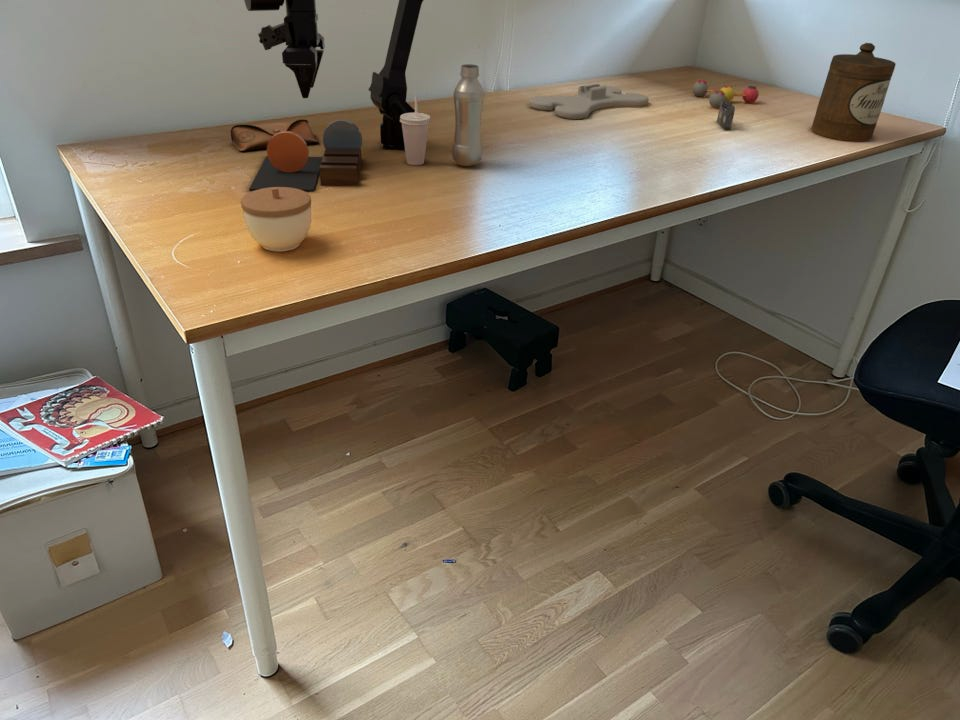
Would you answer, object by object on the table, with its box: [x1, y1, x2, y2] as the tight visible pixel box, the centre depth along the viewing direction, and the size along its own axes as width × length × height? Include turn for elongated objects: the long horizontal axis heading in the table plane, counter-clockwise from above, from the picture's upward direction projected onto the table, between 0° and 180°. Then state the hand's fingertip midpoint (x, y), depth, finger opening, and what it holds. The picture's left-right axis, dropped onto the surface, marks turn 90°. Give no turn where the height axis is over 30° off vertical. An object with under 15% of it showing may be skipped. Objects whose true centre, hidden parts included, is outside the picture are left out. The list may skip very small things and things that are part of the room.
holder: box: [528, 83, 649, 120], centre depth 204 cm, size 19×34×5 cm, turn 130°
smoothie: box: [400, 94, 431, 166], centre depth 153 cm, size 6×6×14 cm
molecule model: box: [692, 79, 759, 109], centre depth 214 cm, size 18×17×5 cm
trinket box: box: [240, 187, 312, 253], centre depth 117 cm, size 11×11×9 cm
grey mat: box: [248, 155, 323, 192], centre depth 147 cm, size 12×20×1 cm, turn 5°
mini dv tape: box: [716, 99, 736, 131], centre depth 191 cm, size 8×2×6 cm, turn 179°
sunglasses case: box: [230, 118, 319, 152], centre depth 164 cm, size 18×7×7 cm
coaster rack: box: [319, 148, 363, 187], centre depth 149 cm, size 16×7×4 cm, turn 5°
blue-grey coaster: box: [322, 119, 363, 150], centre depth 152 cm, size 1×8×8 cm, turn 95°
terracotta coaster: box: [266, 131, 310, 173], centre depth 145 cm, size 1×8×8 cm, turn 95°
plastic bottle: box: [451, 63, 485, 167], centre depth 152 cm, size 6×7×20 cm
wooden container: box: [811, 42, 897, 142], centre depth 185 cm, size 15×15×22 cm
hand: (308, 92), depth 151 cm, fingers open, 9 cm apart
